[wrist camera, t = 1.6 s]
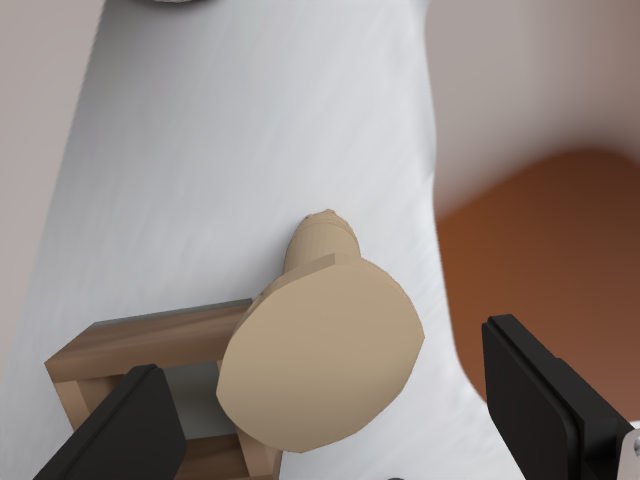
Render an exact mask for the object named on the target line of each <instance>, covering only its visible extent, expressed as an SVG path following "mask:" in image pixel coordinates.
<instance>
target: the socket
mask: <svg viewBox="0 0 640 480" xmlns="http://www.w3.org/2000/svg"><path fill="white" fill-rule="evenodd" d="M252 303H253V301H252V298H251V299H245V300H238V301H231V302H225V303H218V304H212V305H205V306H199V307H192V308H186V309H179V310H173V311H166V312H160V313H153V314H147V315H140V316H134V317H127V318H121V319H114V320H108V321H101V322H94V323H93V324H92V325H91V326H89V327H88V328H87V329H86V330H84V331H83V332H82V333H81V334H80V335H78V336H77V337H76V338H75V339H73V340H72V341H71V342H70V343H68V344H67V345H66V346H65V347H63V348H62V349H61V350H60V351H58V352H57V353H56V354H55V355H53V356H52V357H51V358H50V359H48V360H47V361H46V362H45V363H44V364H45V366H46V368H47V371H48V373H49V375H50V377H51V380H52V382H53V384H54V387H55V389H56V391H57V393H58V396H59V398H60V400H61V402H62V405H63V407H64V409H65V412H66V414H67V416H68V418H69V421H70V423H71V425H72V427H73V430H74V432H75V431H76V430H77V429H78V428H79V427H80V426H81V425H82V423H83V422H84V421H85V420H86V419H87V418H88V417H89V416H90V414H91V413H92V412H93V411H94V410H95V409H96V408H97V407H98V405H99V404H100V403H101V402H102V401H103V400H104V399H105V398H106V396H107V395H108V394H109V393H110V392H111V391H112V390H113V389H114V388H115V386H116V385H117V384H118V383H119V382H120V381H121V380H122V379H123V377H124V376H125V375H126V374H127V373H128V372H129V371H130V370H131V368H133V367H134V366H139V365H147V364H156V365H157V366H158V368H162V369H163V371H164V373H165V377H166V380H167V383H168V386H169V389H170V392H171V395H172V398H173V401H174V404H175V407H176V411H177V414H178V417H179V420H180V423H181V426H182V429H183V432H184V435H185V438H186V442H187V450H186V454H185V456H184V459H183V461H182V463H181V465H180V467H179V469H178V471H177V473H176V475H175V478H174V480H279V473H280V467H281V460H282V453H283V450H279V449H275V448H273V447H270V446H268V445H266V444H263V443H261V442H260V441H258V440H256V439H255V438H253V437H251V436H250V435H248V434H247V433H246V432H244V431H243V430H242V429H240V428H239V427H238V426H237V425H236V424H235V423H234V422H233V421H232V420H231V419H230V418H229V417H228V416H227V415H226V413H225V411H224V410H223V408H222V406H221V405H220V403H219V400H218V398H217V395H216V391H217V386H218V381H219V376H220V371H221V367H222V363H223V358H224V355H225V352H226V349H227V347H228V344H229V342H230V339H231V337H232V334H233V332H234V330H235V328H236V326H237V324H238V322H239V321H240V319H241V318H242V316H243V315H244V313H245V312H246V311H247V310H248V308H249V307H250V306H251V305H252Z"/></svg>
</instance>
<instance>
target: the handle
mask: <svg viewBox="0 0 640 480" xmlns="http://www.w3.org/2000/svg"><path fill="white" fill-rule="evenodd" d="M424 338H425V336H424V332H423V328H422V324H421V322H420V319H419V317H418V314H417V312H416V310H415V308H414V306H413V304H412V302H411V300H410V298H409V297H408V296H407V294H406V293H405V291H404V290H403V289H402V287H401V286H400V285H399V284H398V283H397V282H396V281H395V280H394V279H393V278H392V277H391V276H390V275H389V274H388V273H387V272H385V271H384V270H382V269H381V268H379V267H378V266H377V265H375V264H373V263H371V262H369V261H367V260H365V259H363V258H361V254H360V249H359V245H358V241H357V238H356V236H355V234H354V232H353V230H352V229H351V227H350V226H349V224H348V223H347V222H346V221H345V220H344V219H342V218H341V217H339V216H337V215H336V214H335V212H334V211H333V210H330V209H327V210H326V211H324V212H322V213H317V214H314V215H312V214H310V215H308V216H307V217H306V218H305V219H304V220H303V222H302V223H301V225H300V226H299V227H298V229H297V230H296V232H295V233H294V235H293V237H292V239H291V241H290V244H289V246H288V249H287V252H286V257H285V263H284V269H283V275H282V276H280V277H278V278H277V279H276V280H274V281H273V282H272V283H271V284H270V285H269V286H268V287H267V288H266V289H265V290H264V291H263V292H262V293H261V294H260V295H259V296H258V297H257V299H256V300H255V301H254V302H253V303H252V305H251V306H250V307H249V308H248V310H247V311H246V312H245V313H244V315H243V316H242V318H241V319H240V321H239V322H238V324H237V326H236V328H235V330H234V332H233V334H232V337H231V339H230V342H229V344H228V347H227V349H226V352H225V355H224V358H223V363H222V367H221V371H220V376H219V381H218V386H217V391H216V395H217V398H218V400H219V403H220V405H221V406H222V408H223V410H224V411H225V413H226V415H227V416H228V417H229V418H230V419H231V420H232V421H233V422H234V423H235V424H236V425H237V426H238V427H239V428H240V429H242V430H243V431H244V432H246V433H247V434H248V435H250V436H251V437H253V438H255V439H256V440H258V441H260V442H261V443H263V444H266V445H268V446H270V447H273V448H275V449H279V450H283V451H288V452H295V453H303V452H306V451H310V450H313V449H316V448H319V447H322V446H325V445H328V444H331V443H333V442H336V441H339V440H342V439H344V438H346V437H348V436H350V435H352V434H355V433H356V432H358V431H359V430H360V429H362V428H363V427H364V426H366V425H367V424H368V423H369V422H371V421H372V420H373V419H374V418H375V417H376V416H377V415H378V414H379V413H380V412H382V411H383V410H384V409H385V408H386V407H387V406H388V405H389V404H390V403H391V402H392V401H393V400H394V399H395V398H396V397H397V396H398V395H399V394H400V392H401V391H402V390H403V388H404V386H405V384H406V382H407V381H408V379H409V377H410V374H411V372H412V370H413V367H414V365H415V362H416V360H417V357H418V354H419V352H420V349H421V346H422V344H423V341H424Z"/></svg>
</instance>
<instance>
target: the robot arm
mask: <svg viewBox="0 0 640 480" xmlns="http://www.w3.org/2000/svg"><path fill="white" fill-rule="evenodd" d="M154 1H159V2H175V3H179V2H186V1H192V0H154ZM482 340H483V353H484V366H485V381H486V394H487V406H488V410H489V414H490V416H491V419H492V421H493V422H494V424H495V426H496V428H497V429H498V431H499V433H500V435H501V436H502V438H503V440H504V442H505V444H506V445H507V447H508V449H509V451H510V452H511V454H512V456H513V458H514V460H515V461H516V463H517V465H518V467H519V468H520V470H521V472H522V474H523V475H524V477H525V479H526V480H640V429H635V428H634V427H633V426H632V425H631V424H630V423H629V422H627V421H626V420H625V419H624V418H623V417H622V416H621V415H620V414H619V413H618V412H617V411H616V410H615V409H614V408H613V407H612V406H611V405H610V404H609V403H608V402H607V401H606V400H605V399H603V398H602V397H601V396H600V395H599V394H598V393H597V392H596V391H595V390H594V389H593V388H592V387H591V386H590V385H589V384H588V383H587V382H586V381H585V380H584V379H583V378H582V377H580V376H579V375H578V374H577V373H576V372H575V371H574V370H573V369H572V368H571V367H570V366H569V365H568V364H567V363H566V362H565V361H563V360H562V359H560V358H556V357H555V356H554V355H552V353H550V351H548V350H547V349H546V348H545V347H544V346H543V345H542V344H541V343H540V342H539V341H538V340H537V339H536V338H535V337H534V336H533V335H532V334H531V333H530V332H529V331H528V330H527V329H526V328H525V327H524V326H523V325H522V324H521V323H520V322H519V321H518V320H517V319H516V318H515V317H514V316H513V315H511V314H506V315H498V316H491V317H489V318H488V321H487V322H486V323H483V324H482ZM186 450H187V442H186V438H185V435H184V432H183V429H182V426H181V423H180V420H179V417H178V414H177V411H176V407H175V404H174V401H173V398H172V395H171V392H170V389H169V386H168V383H167V380H166V377H165V373H164V371H163V369H162V368H158V366H157V365H156V364H147V365H139V366H134V367H133V368H131V370H130V371H129V372H128V373H127V374H126V375H125V376H124V377H123V379H122V380H121V381H120V382H119V383H118V384H117V385H116V386H115V388H114V389H113V390H112V391H111V392H110V393H109V394H108V395H107V396H106V398H105V399H104V400H103V401H102V402H101V403H100V404H99V405H98V407H97V408H96V409H95V410H94V411H93V412H92V413H91V414H90V416H89V417H88V418H87V419H86V420H85V421H84V422H83V423H82V425H81V426H80V427H79V428H78V429H77V430H76V431H75V432H74V434H73V435H72V436H71V437H70V438H69V439H68V440H67V441H66V443H65V444H64V445H63V446H62V447H61V448H60V449H59V450H58V452H57V453H56V454H55V455H54V456H53V457H52V458H51V459H50V460H49V462H48V463H47V464H46V465H45V466H44V467H43V468H42V469H41V471H40V472H39V473H38V474H37V475H36V476H35V477H34V478H33V480H174V478H175V475H176V473H177V471H178V469H179V467H180V465H181V463H182V461H183V459H184V456H185V454H186Z"/></svg>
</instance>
